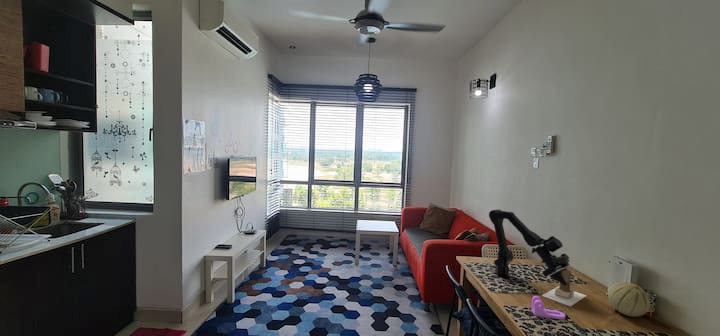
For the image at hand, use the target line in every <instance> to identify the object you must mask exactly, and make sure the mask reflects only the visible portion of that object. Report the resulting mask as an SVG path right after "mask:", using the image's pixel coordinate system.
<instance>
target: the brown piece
mask: <svg viewBox="0 0 720 336" xmlns="http://www.w3.org/2000/svg"><path fill="white" fill-rule="evenodd" d="M561 276H562V277H563V279H564V280H565V282H566V284H567V285H566V286H565V285H563V284H562V283H560V282H559V286H560V287H559V288H557V289H555V288H554V289H555V295H556V296H559V297H562V298H565V299H567V300H568V299H570V298H571V297H573V296H574V291H575V290H574V289H571V283H570V281H571V279H572V278H571V277H572V271H571V270H569V269H567V270H565V269H561Z"/></svg>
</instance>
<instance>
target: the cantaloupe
mask: <svg viewBox="0 0 720 336" xmlns="http://www.w3.org/2000/svg"><path fill="white" fill-rule="evenodd" d="M607 293H608V294H607V295H608V296H607V297H608V301H609V303H610V305H611V306H612V307H613V308H614V309H615V310H616V311H618V312H619V313H620V314H623V315H625V316H628V317H633V318H638V317H642V316H643V315H646V313H648V311H649V309H650V306H651V300H650V297H649V295H648V293H647V292H646V291H645V290H644V289H643V288H642V287H640V285H638V284H634V283H631V282H629V281H627V282H625V281H623V282H617V283H614V284H613V285H611V287H610V288H609V290H608V292H607Z"/></svg>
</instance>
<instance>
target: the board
mask: <svg viewBox="0 0 720 336" xmlns="http://www.w3.org/2000/svg"><path fill="white" fill-rule="evenodd" d="M559 287H560V285H559V286H556V287H555V288H553V289H551V290H549V291H547V292H545V293H544V294H542V295H541V296H542V297H545V298H546V299H550V300H553V301H554V302H555V301H556V302H558V303H560V304H563V305H566V306H569V307H572V306H573V305H575V304H576V303H578V302H579V301H580V300H583V298H585V297H587V295H586V294H584V293H580V292H578V291H575V290H574V296H573V297H571V298H570V299H568V300H567V299H565V298H562V297H559V296H556V295H555V289H557V288H559Z"/></svg>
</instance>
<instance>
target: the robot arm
mask: <svg viewBox="0 0 720 336" xmlns="http://www.w3.org/2000/svg"><path fill="white" fill-rule="evenodd" d="M488 217H489V219H490V222H491V223H492V224H493V226H494V227H493V228H494V231H495V232H494V233H495V236H496V240H497V245H498V252H497V259H494V260H493V264H494V265H495V268H494V269H495V271H493V273H494V274H495V275H496V276H497V277H499V278H500V277H505V278H506V277H510V275H509V274H510V268H509V265H510V264H511V263H512V262H513V261H514V258H515V257H514V253H513V250H510V249H509V247H508V243H507V240H506V233H505V229H504V219H505V220H508V221H509V222H510V224H512V226H513V227H514V228H515V229H516V230H517V231H518V232H519V233H520V234H521V236H523V237H522V238H523V240H524V242H525V243H526V244H527V246H528V247H530V248H531V247H532V248H531V249H532V250H531V254H535V253H536V254H537V255H538V257H539V258H540V259H541V260H542V261H541V263H542V264H544V265H545V266H546V267H547V268H546V269H545V270H543V271H542V275H543V276H544V277H545V278H547V277H549V278H552V279H553V280H555V281H556V282H558V283H559V284H560V283H562V284H563V285H565V286H566V285H567V284H566V282H565V280H564V279H563V277H562V276H561V269H565V270H568V266H570V256H569V255H567V254H566V253H561V254H560V256H556V254H555V255H554V254H553V253H555V252H556V251H558V250H559V249H561V248H563V246H564V245H563V243H562V242H561V240H559V239H558V238H556V237H555V236H554V235H552V236H550V237H548V238H547V239H545V238H542V237H541V236H540V235H539V234H537V233H536V232H534V231H532V230H530V229H529V227H527V226H526V225H525V224H524V223H523V221H521V220H520V218H518V216H517V215H515V213H514V212H513V211H506V210H502V209H499V208H498V209H492V210H490V211H489V213H488ZM571 283H572V282H571V281H570V284H571Z"/></svg>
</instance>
